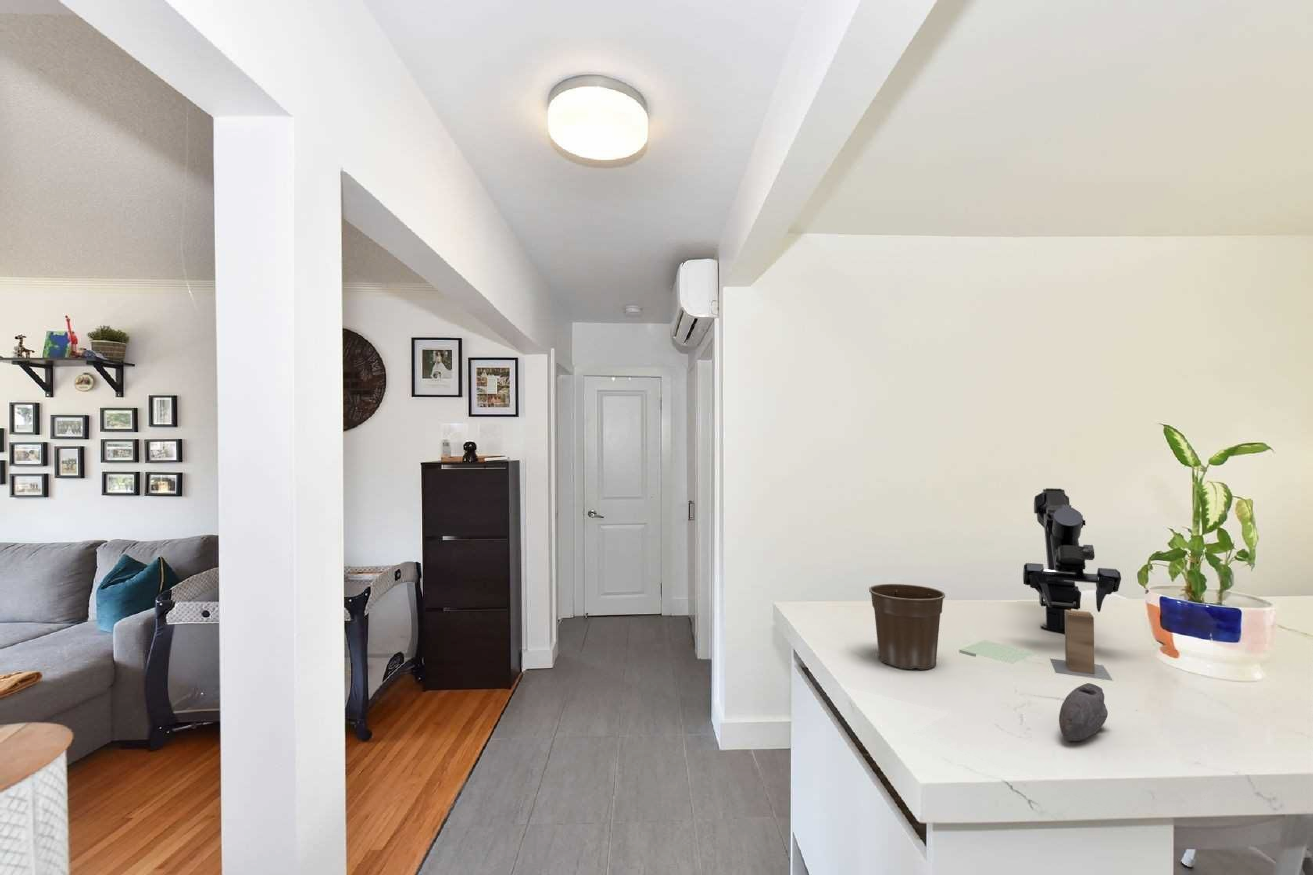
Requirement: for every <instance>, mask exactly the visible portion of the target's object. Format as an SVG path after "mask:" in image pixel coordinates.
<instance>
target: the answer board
mask: <svg viewBox="0 0 1313 875" xmlns="http://www.w3.org/2000/svg"><path fill="white" fill-rule="evenodd" d="M959 653H961V654H965V655H968V656H973V657H977V655H978V656H980V657H985V658H989V659H993V660H997V661H1000V662H1004V663H1008V664H1011V665H1014V664H1016V663H1018V662H1020V661H1023V660H1025V659H1027V658H1029V657H1031V656H1033V655H1037V653H1036V652H1033V651H1030V650H1026V649H1021V648H1016V647H1013V646H1009V645H1005V644H1001V643H996V642H993V641H988V640H986V639H984V640H982V641H978V642H976V643H973V644H971V645H968V646H966V647H963V648H959Z"/></svg>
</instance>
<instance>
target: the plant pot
mask: <svg viewBox="0 0 1313 875" xmlns="http://www.w3.org/2000/svg"><path fill="white" fill-rule="evenodd" d="M868 590H869V593H870V596H871V605H872V607H873V610H874V619H875V621H874V622H875V629H876V640H877V641H876V642H877V650H878V658H879V659H880V660H881V662H882V663H884V664H886V665H888V666H891V667H894V668H899V669H903V670H905V669H906V670H913V669H915V668H917V669H918V670H920V671H921V670H930V669H932V668H934V667H935V666H936V665H937V656H938V645H939V644H938V643H939V632H940V621H941V614H942V613H943V603H944V599H945V598H946V593H945V592H943V591H941V590H940V589H937V588H933V587H929V586H924V585H923V586H922V585H916V584H915V585H913V584H903V583H902V584H901V583H885V584H883V583H881V584H875V585H872V586H870V587H868Z"/></svg>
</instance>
